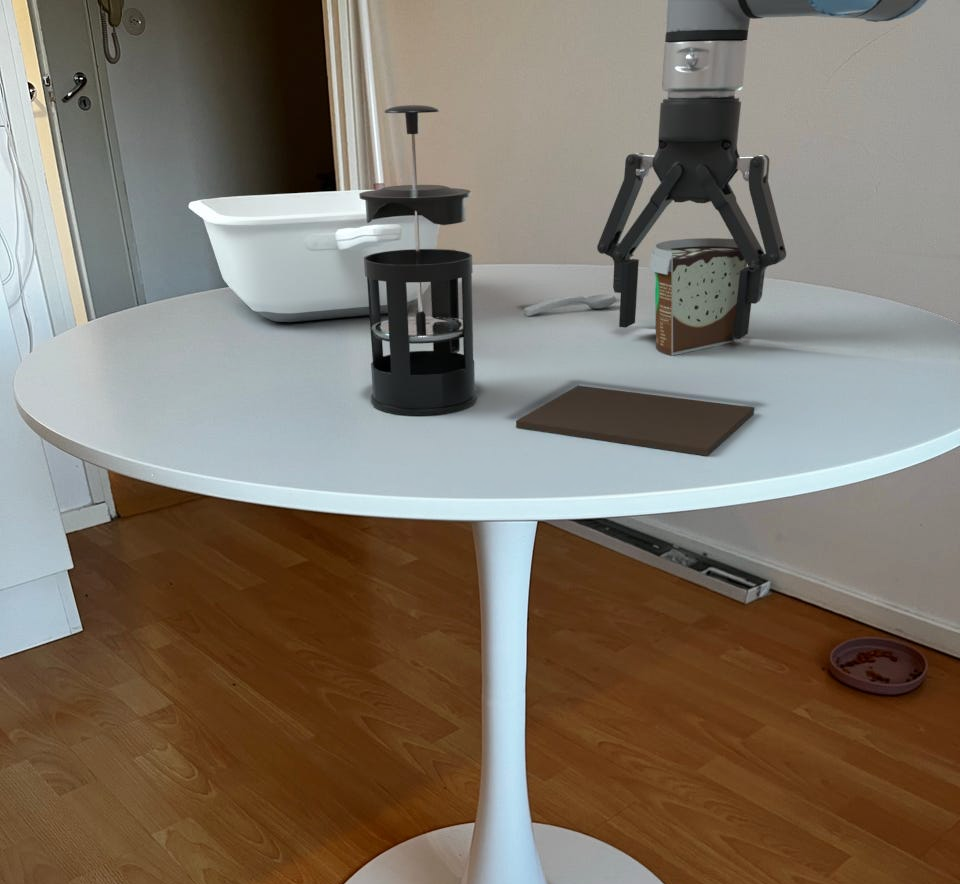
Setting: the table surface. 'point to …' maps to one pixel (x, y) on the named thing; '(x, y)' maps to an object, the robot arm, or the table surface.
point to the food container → (695, 293)
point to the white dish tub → (306, 251)
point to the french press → (420, 301)
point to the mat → (638, 419)
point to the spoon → (591, 301)
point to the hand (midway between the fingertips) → (682, 330)
